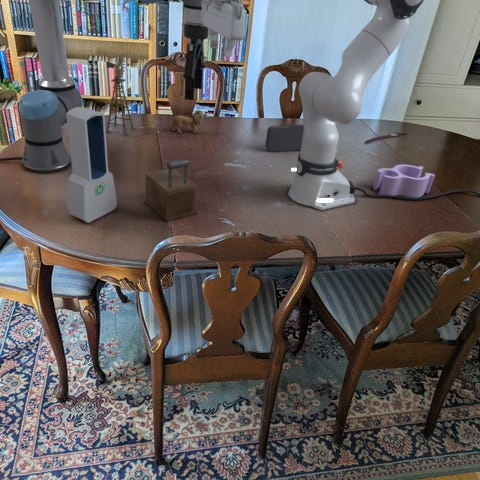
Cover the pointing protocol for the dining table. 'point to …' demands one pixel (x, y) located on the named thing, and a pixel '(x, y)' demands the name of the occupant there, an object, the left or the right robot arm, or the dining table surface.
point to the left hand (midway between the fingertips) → (193, 93)
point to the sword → (384, 137)
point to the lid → (172, 178)
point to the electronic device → (89, 166)
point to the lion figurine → (188, 121)
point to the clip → (403, 181)
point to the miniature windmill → (118, 77)
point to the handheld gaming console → (284, 137)
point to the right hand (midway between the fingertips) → (220, 52)
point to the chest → (170, 202)
